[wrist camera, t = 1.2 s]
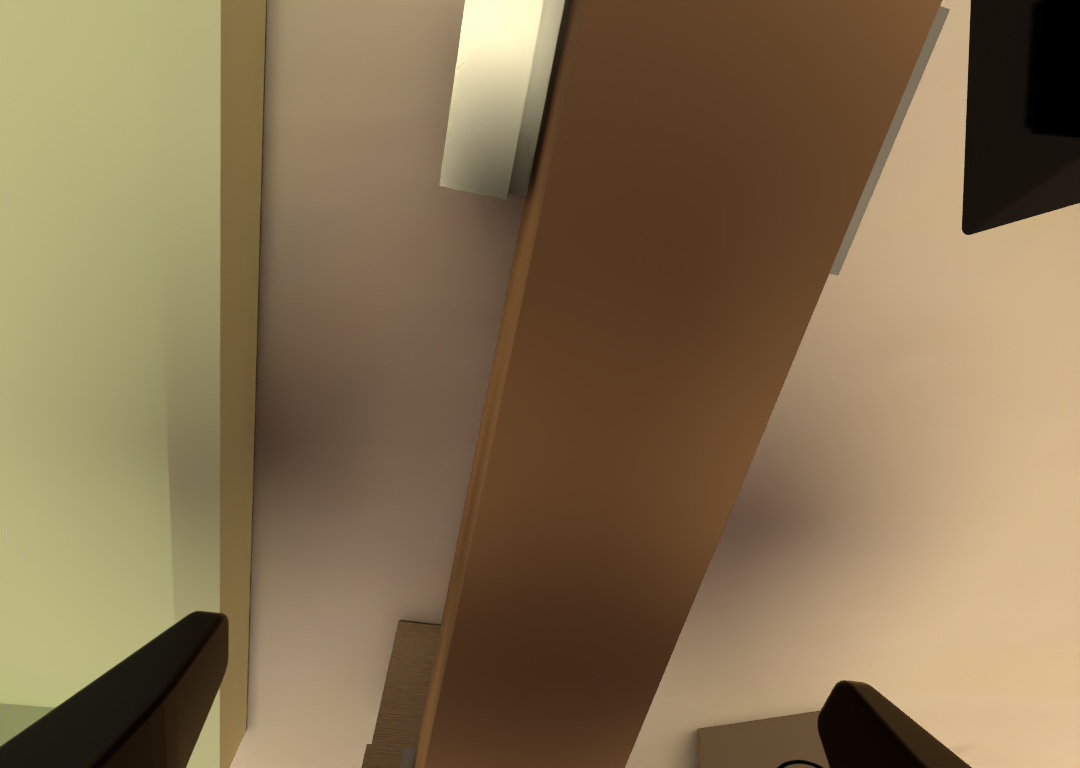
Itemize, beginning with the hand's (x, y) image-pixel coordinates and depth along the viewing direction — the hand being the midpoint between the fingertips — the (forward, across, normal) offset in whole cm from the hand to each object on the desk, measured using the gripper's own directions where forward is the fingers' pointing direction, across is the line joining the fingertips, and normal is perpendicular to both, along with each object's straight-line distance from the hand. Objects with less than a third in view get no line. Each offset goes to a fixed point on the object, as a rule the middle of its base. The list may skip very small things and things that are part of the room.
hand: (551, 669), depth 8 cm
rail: (+3, 0, 0) cm, 3 cm away
